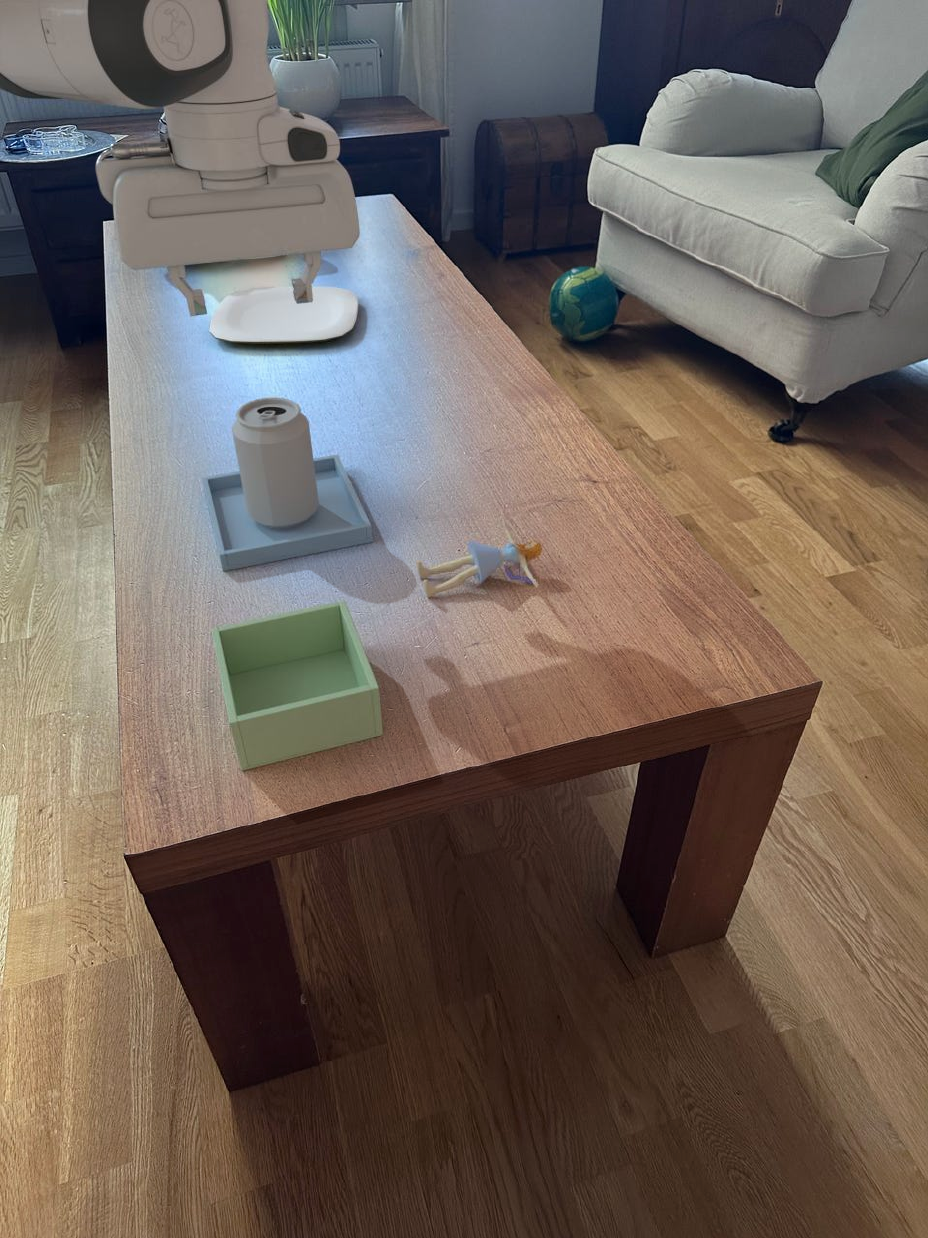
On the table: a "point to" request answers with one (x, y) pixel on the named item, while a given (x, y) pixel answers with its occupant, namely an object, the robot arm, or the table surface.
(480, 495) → the table surface
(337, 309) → the plate
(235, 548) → the tray
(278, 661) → the bin
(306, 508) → the can
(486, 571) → the fairy figurine
